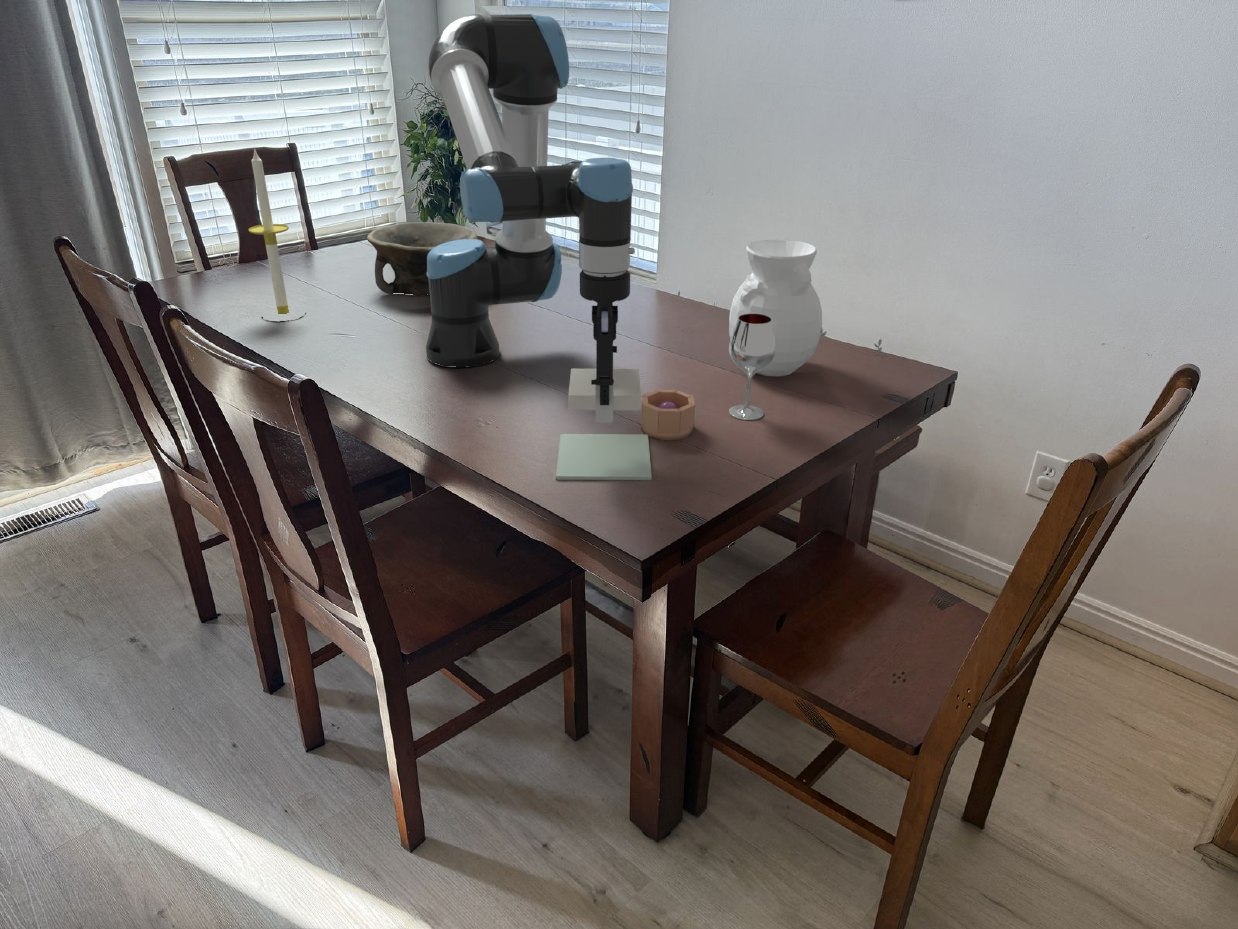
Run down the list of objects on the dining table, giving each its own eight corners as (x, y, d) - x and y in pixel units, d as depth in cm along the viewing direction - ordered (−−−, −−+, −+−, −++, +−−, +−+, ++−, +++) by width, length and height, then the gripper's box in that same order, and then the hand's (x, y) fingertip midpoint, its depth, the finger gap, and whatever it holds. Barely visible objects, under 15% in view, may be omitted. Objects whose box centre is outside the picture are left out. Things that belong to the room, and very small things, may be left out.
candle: (271, 325, 197) (239, 152, 179) (254, 314, 204) (222, 147, 186) (313, 316, 203) (286, 148, 185) (295, 306, 210) (268, 143, 192)
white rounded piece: (709, 358, 182) (717, 239, 170) (783, 347, 188) (796, 232, 176) (755, 391, 167) (767, 263, 155) (834, 378, 173) (851, 254, 161)
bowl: (501, 287, 226) (498, 229, 219) (430, 313, 206) (424, 250, 199) (425, 270, 238) (420, 215, 231) (352, 294, 219) (344, 234, 212)
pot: (642, 440, 148) (643, 410, 145) (640, 417, 156) (641, 389, 153) (694, 440, 148) (696, 411, 145) (690, 418, 156) (691, 390, 153)
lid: (568, 409, 131) (568, 384, 129) (571, 382, 141) (571, 358, 139) (640, 410, 132) (641, 384, 130) (638, 382, 141) (639, 358, 139)
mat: (555, 479, 135) (555, 476, 135) (560, 437, 148) (560, 433, 148) (651, 480, 135) (651, 476, 135) (647, 437, 148) (647, 434, 148)
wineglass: (720, 404, 161) (727, 311, 153) (763, 403, 162) (772, 310, 153) (728, 423, 154) (736, 326, 146) (773, 421, 155) (783, 326, 146)
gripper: (632, 293, 117) (629, 438, 127) (628, 250, 137) (626, 378, 148) (576, 292, 117) (578, 438, 127) (581, 250, 137) (583, 378, 148)
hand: (604, 406), depth 137 cm, fingers closed on lid, 11 cm apart
